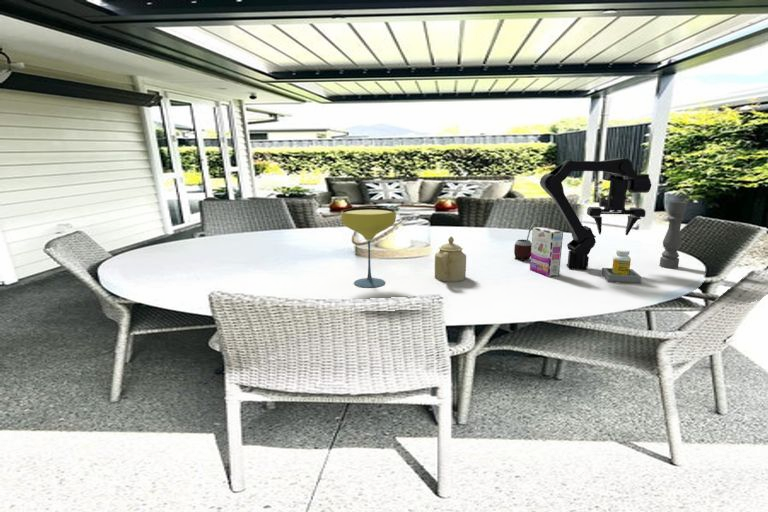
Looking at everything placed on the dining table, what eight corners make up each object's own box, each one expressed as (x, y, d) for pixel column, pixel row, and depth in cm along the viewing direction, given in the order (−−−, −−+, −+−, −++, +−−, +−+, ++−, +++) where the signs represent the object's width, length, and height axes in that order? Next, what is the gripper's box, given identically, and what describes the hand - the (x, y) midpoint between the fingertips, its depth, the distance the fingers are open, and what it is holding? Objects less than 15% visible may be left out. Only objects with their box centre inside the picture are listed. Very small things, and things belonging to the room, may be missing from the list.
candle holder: (681, 268, 168) (692, 202, 162) (665, 268, 168) (675, 203, 162) (671, 264, 174) (680, 201, 168) (655, 264, 174) (664, 201, 168)
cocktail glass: (356, 273, 163) (355, 206, 157) (403, 278, 157) (403, 208, 151) (333, 287, 147) (331, 213, 141) (384, 293, 140) (384, 215, 134)
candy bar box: (560, 276, 159) (564, 231, 155) (548, 277, 157) (552, 232, 154) (539, 268, 169) (543, 226, 165) (528, 269, 168) (532, 227, 164)
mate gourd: (513, 260, 181) (516, 224, 177) (513, 256, 188) (516, 221, 185) (532, 262, 179) (535, 225, 175) (532, 257, 186) (534, 222, 183)
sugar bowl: (472, 284, 150) (474, 241, 146) (440, 285, 148) (441, 242, 145) (460, 272, 164) (462, 233, 160) (431, 273, 163) (432, 233, 159)
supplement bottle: (623, 275, 158) (626, 248, 155) (631, 279, 152) (635, 252, 150) (608, 275, 158) (611, 248, 155) (616, 279, 152) (619, 252, 150)
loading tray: (608, 282, 151) (609, 275, 151) (601, 274, 161) (602, 267, 160) (640, 283, 149) (641, 276, 149) (631, 275, 159) (632, 269, 158)
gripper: (638, 191, 168) (633, 231, 172) (585, 190, 172) (582, 230, 176) (648, 194, 157) (643, 237, 161) (592, 193, 162) (587, 235, 165)
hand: (612, 234), depth 166 cm, fingers open, 9 cm apart
